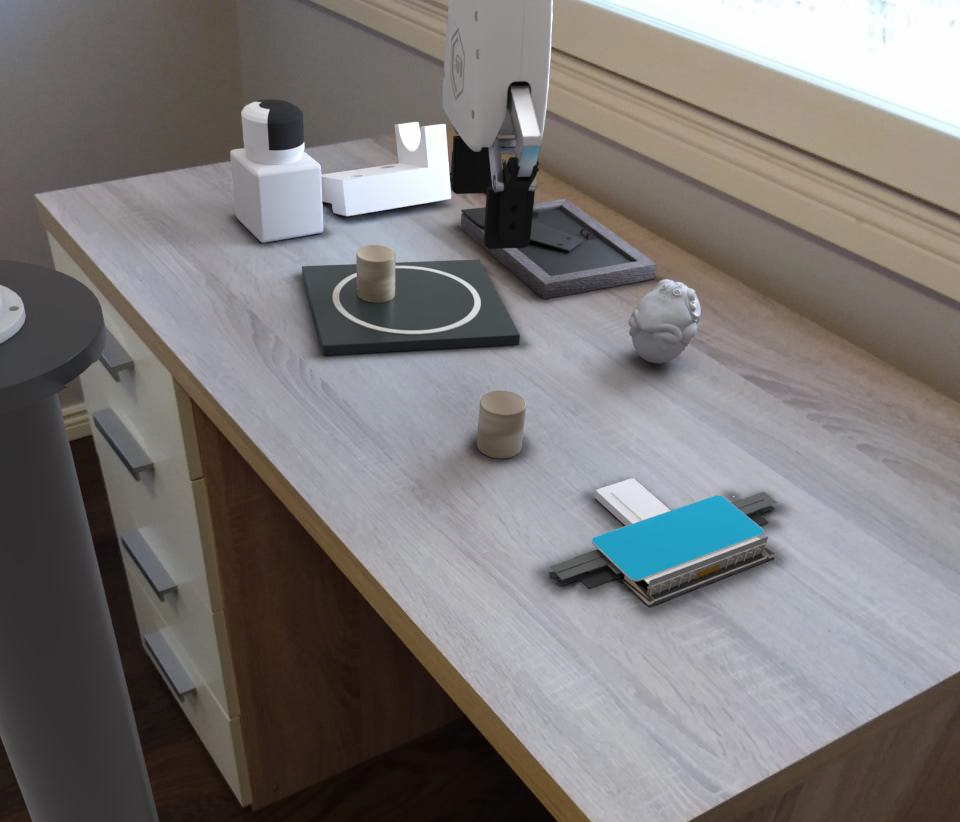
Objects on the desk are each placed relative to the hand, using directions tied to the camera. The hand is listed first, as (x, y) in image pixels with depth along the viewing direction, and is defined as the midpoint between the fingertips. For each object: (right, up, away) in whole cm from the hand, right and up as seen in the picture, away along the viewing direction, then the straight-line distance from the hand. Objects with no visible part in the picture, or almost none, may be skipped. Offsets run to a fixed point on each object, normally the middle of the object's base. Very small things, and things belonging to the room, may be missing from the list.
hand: (488, 218), depth 76 cm
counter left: (-10, +2, +24) cm, 26 cm away
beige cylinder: (+1, -15, +8) cm, 17 cm away
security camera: (-22, +13, +36) cm, 44 cm away
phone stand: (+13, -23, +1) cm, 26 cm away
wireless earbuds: (-2, +23, +48) cm, 53 cm away
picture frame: (+7, +11, +36) cm, 38 cm away
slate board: (-8, +1, +24) cm, 25 cm away
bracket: (-12, +19, +43) cm, 48 cm away
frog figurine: (+16, -5, +21) cm, 26 cm away
